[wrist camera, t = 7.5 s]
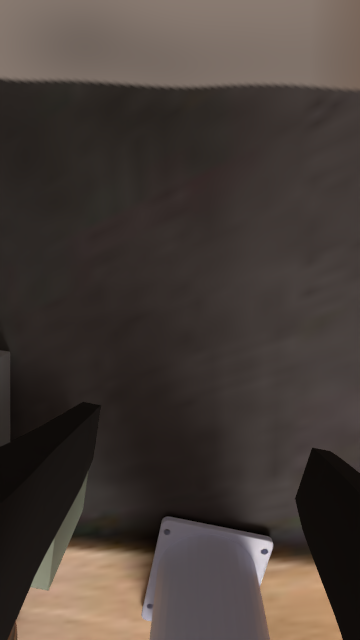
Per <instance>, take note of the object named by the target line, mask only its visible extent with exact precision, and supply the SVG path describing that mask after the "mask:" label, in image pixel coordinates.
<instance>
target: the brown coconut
mask: <svg viewBox="0 0 360 640" xmlns="http://www.w3.org/2000/svg"><path fill="white" fill-rule="evenodd" d="M8 640H17V625H16V621H15V623H14V626H13V628H12V630H11V633H10V635H9V638H8Z"/></svg>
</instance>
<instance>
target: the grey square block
mask: <svg viewBox="0 0 360 640" xmlns="http://www.w3.org/2000/svg"><path fill="white" fill-rule="evenodd" d="M9 442H10V352H8V351H1V350H0V446H3V445H5V444H7V443H9Z"/></svg>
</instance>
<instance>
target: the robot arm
mask: <svg viewBox="0 0 360 640" xmlns="http://www.w3.org/2000/svg"><path fill="white" fill-rule="evenodd" d="M100 408H101V405H96V404H91V403H86V402H82V403H80V404H78V405H77V406H75V407H73V408H72V409H70V410H68V411H67V412H65V413H63V414H62V415H60V416H58V417H57V418H55V419H53V420H51V421H49V422H48V423H46V424H44V425H42V426H41V427H39V428H37V429H35V430H33V431H31V432H29V433H27V434H25V435H23V436H21V437H19V438H17V439H15V440H13V441H11V442H9V443H7V444H5V445H3V446H0V640H8V638H9V635H10V633H11V630H12V628H13V626H14V623H15V621H16V619H17V616H18V614H19V612H20V609H21V607H22V605H23V602H24V600H25V598H26V596H27V593H28V591H29V589H30V586H31V584H32V582H33V579H34V577H35V575H36V573H37V571H38V569H39V567H40V565H41V563H42V561H43V559H44V557H45V555H46V553H47V551H48V549H49V547H50V545H51V543H52V542H53V540H54V538H55V536H56V534H57V532H58V530H59V529H60V527H61V525H62V523H63V521H64V519H65V517H66V516H67V514H68V512H69V510H70V508H71V506H72V504H73V502H74V501H75V499H76V497H77V495H78V493H79V491H80V489H81V487H82V485H83V482H84V480H85V478H86V475H87V473H88V470H89V467H90V465H91V462H92V460H93V455H94V449H95V442H96V435H97V429H98V422H99V415H100ZM295 499H296V504H297V508H298V513H299V517H300V521H301V525H302V529H303V532H304V535H305V538H306V540H307V543H308V546H309V549H310V551H311V554H312V557H313V559H314V562H315V565H316V567H317V570H318V572H319V575H320V578H321V580H322V583H323V586H324V588H325V591H326V593H327V596H328V599H329V601H330V604H331V607H332V609H333V612H334V615H335V617H336V620H337V623H338V626H339V629H340V632H341V635H342V638H343V640H360V473H359V472H358V471H356V470H355V469H354V468H353V467H351V466H350V465H349V464H347V463H346V462H345V461H343V460H342V459H341V458H339V457H338V456H337V455H335V454H334V453H332V452H331V451H326V450H321V449H316V448H312V450H311V453H310V456H309V459H308V462H307V465H306V468H305V471H304V474H303V477H302V480H301V483H300V486H299V489H298V492H297V495H296V498H295ZM165 529H168V530H165ZM272 548H273V542H272V539H271V538H270V537H268V536H265V535H260V534H255V533H250V532H245V531H240V530H235V529H230V528H225V527H220V526H215V525H210V524H205V523H200V522H194V521H189V520H184V519H179V518H174V517H168V516H167V517H164V518H163V519H162V522H161V526H160V531H159V536H158V540H157V545H156V549H155V554H154V558H153V563H152V567H151V572H150V576H149V581H148V586H147V590H146V595H145V599H144V604H143V608H142V617H143V619H145V620H148V621H152V623H151V631H150V640H270V637H269V632H268V627H267V622H266V617H265V611H264V606H263V601H262V596H261V591H260V585H261V582H262V579H263V576H264V573H265V570H266V567H267V564H268V561H269V558H270V555H271V552H272Z"/></svg>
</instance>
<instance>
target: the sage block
mask: <svg viewBox="0 0 360 640" xmlns="http://www.w3.org/2000/svg"><path fill="white" fill-rule="evenodd" d="M87 477H88V473H87V475H86V478H85V480H84V482H83V485H82V487H81V489H80V491H79V493H78V495H77V497H76V499H75V501H74V502H73V504H72V506H71V508H70V510H69V512H68V514H67V516H66V517H65V519H64V521H63V523H62V525H61V527H60V529H59V530H58V532H57V534H56V536H55V538H54V540H53V542H52V543H51V545H50V547H49V549H48V551H47V553H46V555H45V557H44V559H43V561H42V563H41V565H40V567H39V569H38V571H37V573H36V575H35V577H34V579H33V582H32V584H31V586H30V587H32V588H37V589H42V590H47V591H48V590H49V588H50V586H51V583H52V581H53V579H54V576H55V574H56V572H57V569H58V567H59V565H60V562H61V560H62V558H63V555H64V553H65V551H66V548H67V546H68V544H69V541H70V539H71V537H72V534H73V532H74V530H75V527H76V525H77V522H78V520H79V518H80V515H81V513H82V511H83V505H84V498H85V491H86V484H87Z"/></svg>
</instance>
